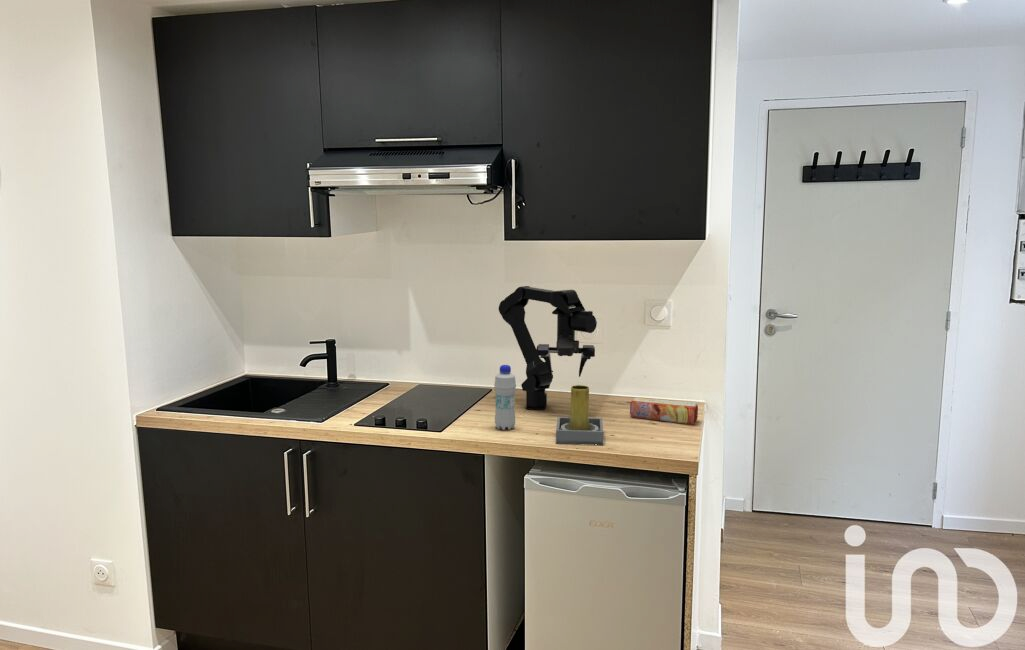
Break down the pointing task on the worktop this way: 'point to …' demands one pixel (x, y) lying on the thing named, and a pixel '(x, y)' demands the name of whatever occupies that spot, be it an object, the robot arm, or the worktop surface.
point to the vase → (579, 408)
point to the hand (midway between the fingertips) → (565, 376)
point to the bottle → (505, 398)
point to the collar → (591, 427)
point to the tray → (579, 433)
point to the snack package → (664, 410)
